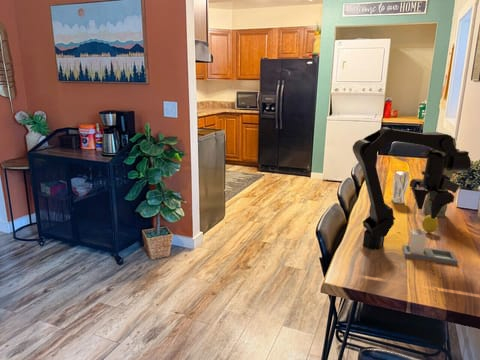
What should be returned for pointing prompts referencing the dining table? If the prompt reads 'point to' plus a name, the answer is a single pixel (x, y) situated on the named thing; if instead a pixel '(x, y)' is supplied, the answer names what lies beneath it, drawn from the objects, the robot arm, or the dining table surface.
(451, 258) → the socket panel
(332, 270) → the dining table surface
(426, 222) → the lemon
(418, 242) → the plug
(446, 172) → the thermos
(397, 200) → the grey marbled block
